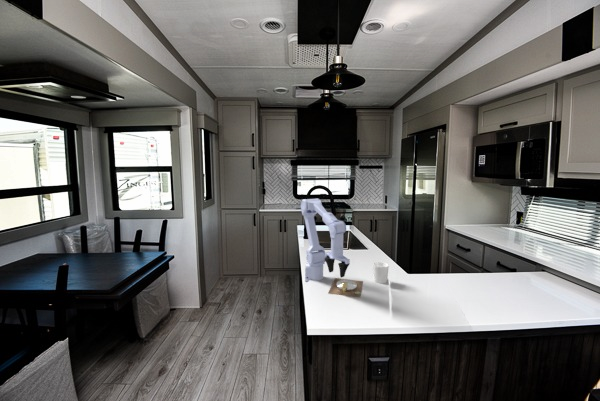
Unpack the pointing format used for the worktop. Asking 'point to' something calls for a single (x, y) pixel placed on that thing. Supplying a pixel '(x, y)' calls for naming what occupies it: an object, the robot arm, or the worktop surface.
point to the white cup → (380, 272)
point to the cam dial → (346, 285)
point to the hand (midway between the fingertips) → (336, 274)
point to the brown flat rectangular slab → (349, 293)
